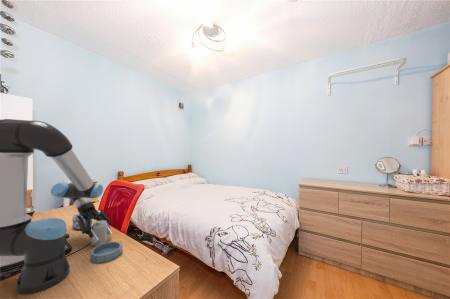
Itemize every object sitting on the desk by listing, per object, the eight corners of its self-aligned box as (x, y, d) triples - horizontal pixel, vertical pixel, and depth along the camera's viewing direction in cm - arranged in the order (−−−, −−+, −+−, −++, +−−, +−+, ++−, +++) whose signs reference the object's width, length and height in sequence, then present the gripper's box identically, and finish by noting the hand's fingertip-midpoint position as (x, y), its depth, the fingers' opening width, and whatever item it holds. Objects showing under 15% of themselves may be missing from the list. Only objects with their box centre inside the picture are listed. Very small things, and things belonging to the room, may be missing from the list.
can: (88, 244, 97) (89, 222, 97) (102, 238, 104) (103, 218, 104) (95, 248, 94) (96, 225, 94) (109, 242, 100) (110, 221, 101)
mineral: (69, 214, 117) (87, 209, 125) (69, 227, 118) (87, 222, 126) (75, 222, 108) (94, 216, 116) (75, 236, 109) (94, 230, 117)
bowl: (115, 261, 83) (116, 254, 83) (84, 264, 80) (84, 257, 80) (125, 246, 96) (125, 240, 96) (98, 249, 93) (98, 242, 93)
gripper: (98, 204, 113) (116, 233, 108) (61, 215, 94) (80, 251, 89) (104, 197, 112) (123, 226, 107) (68, 206, 92) (88, 242, 87)
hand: (103, 237), depth 98 cm, fingers closed on can, 7 cm apart
